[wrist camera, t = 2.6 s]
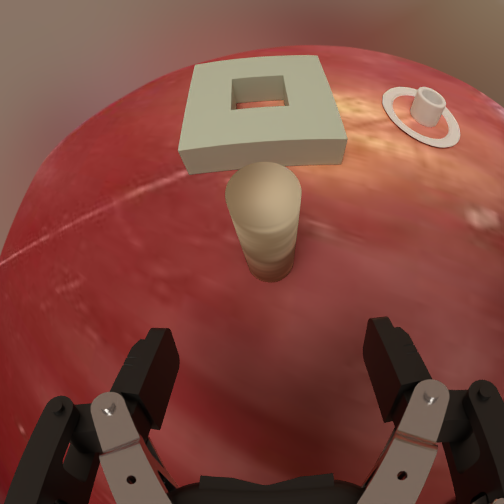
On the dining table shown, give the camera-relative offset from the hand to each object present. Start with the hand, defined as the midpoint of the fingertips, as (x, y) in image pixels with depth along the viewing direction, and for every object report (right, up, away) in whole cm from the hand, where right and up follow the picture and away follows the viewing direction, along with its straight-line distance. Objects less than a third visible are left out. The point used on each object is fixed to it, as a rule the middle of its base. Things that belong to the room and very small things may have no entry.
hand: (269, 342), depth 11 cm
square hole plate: (0, +20, +20) cm, 28 cm away
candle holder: (+22, +22, +20) cm, 37 cm away
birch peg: (+1, +3, +14) cm, 14 cm away
